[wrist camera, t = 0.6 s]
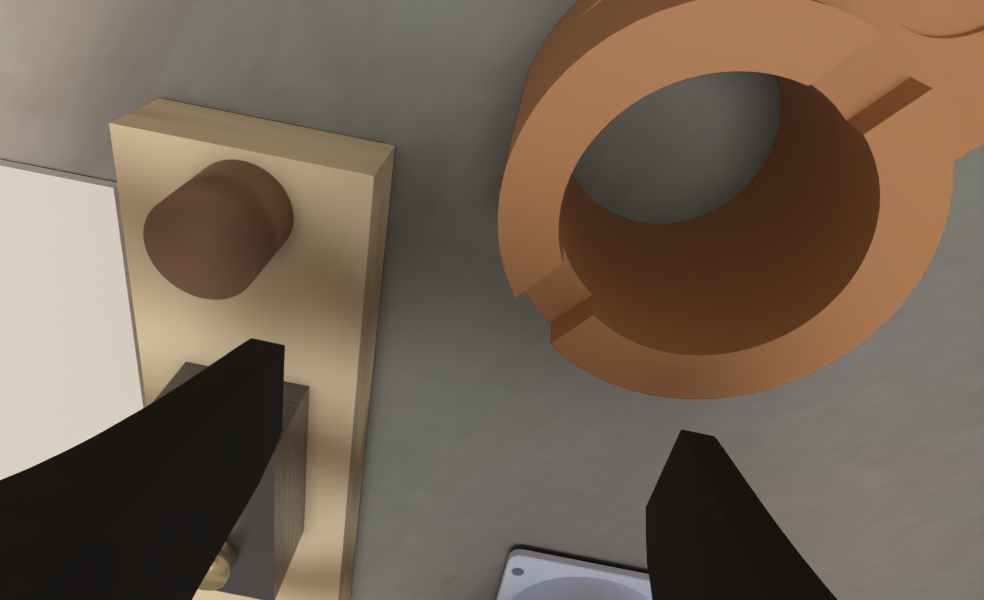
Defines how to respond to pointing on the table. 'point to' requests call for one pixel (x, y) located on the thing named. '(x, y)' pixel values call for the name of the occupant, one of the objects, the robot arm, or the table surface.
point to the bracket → (762, 204)
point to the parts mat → (62, 314)
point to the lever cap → (265, 507)
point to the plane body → (264, 284)
